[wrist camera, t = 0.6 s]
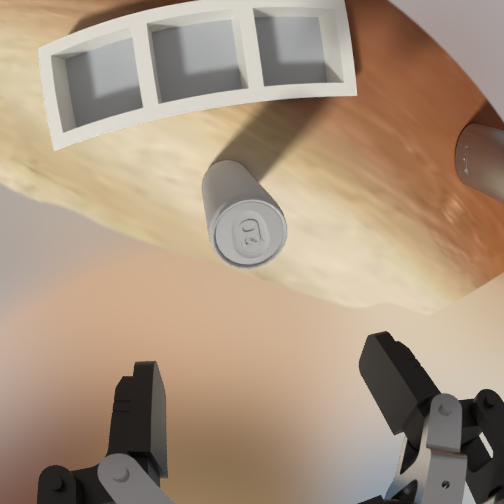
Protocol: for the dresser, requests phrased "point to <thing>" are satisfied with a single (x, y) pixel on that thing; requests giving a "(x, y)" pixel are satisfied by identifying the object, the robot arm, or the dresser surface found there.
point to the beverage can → (241, 217)
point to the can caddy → (193, 62)
